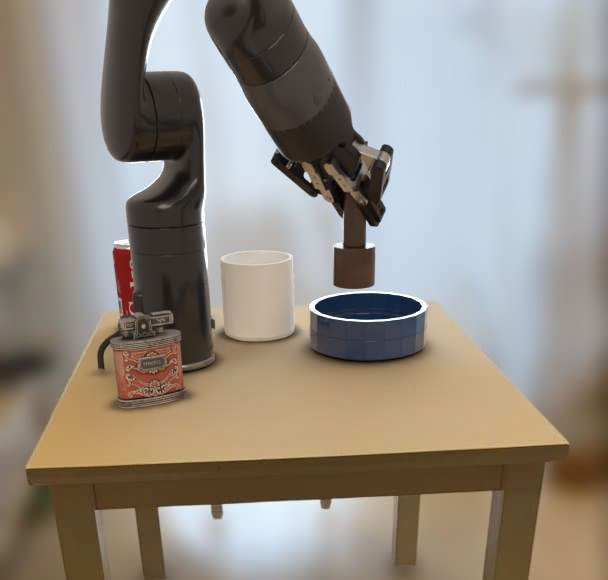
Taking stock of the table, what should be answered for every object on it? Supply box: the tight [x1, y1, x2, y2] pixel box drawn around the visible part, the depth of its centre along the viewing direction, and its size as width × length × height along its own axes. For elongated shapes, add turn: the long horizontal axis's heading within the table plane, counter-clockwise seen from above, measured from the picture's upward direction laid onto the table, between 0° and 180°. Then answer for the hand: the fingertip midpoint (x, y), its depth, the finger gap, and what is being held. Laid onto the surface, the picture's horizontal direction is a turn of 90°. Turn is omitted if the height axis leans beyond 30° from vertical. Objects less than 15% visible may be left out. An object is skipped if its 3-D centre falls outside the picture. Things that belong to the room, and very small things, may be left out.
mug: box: [219, 249, 296, 342], centre depth 125 cm, size 13×10×10 cm
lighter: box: [109, 311, 187, 409], centre depth 100 cm, size 8×3×10 cm, turn 117°
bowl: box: [308, 291, 429, 362], centre depth 118 cm, size 15×15×6 cm
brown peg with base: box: [332, 139, 377, 290], centre depth 91 cm, size 4×4×14 cm
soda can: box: [111, 238, 134, 319], centre depth 127 cm, size 5×5×12 cm
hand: (365, 217), depth 93 cm, fingers closed on brown peg with base, 2 cm apart
